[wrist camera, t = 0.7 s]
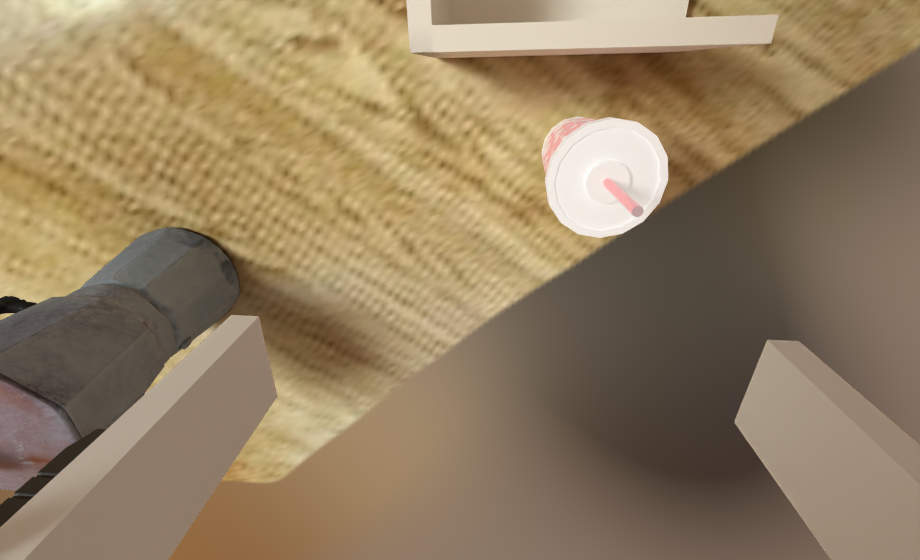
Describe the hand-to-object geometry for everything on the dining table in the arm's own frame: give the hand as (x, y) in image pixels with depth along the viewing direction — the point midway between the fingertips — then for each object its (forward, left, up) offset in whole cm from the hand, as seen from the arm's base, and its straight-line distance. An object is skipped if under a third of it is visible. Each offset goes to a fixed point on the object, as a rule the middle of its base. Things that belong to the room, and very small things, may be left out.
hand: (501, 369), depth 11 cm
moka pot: (+8, -26, -22) cm, 35 cm away
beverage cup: (-2, +6, -22) cm, 23 cm away
